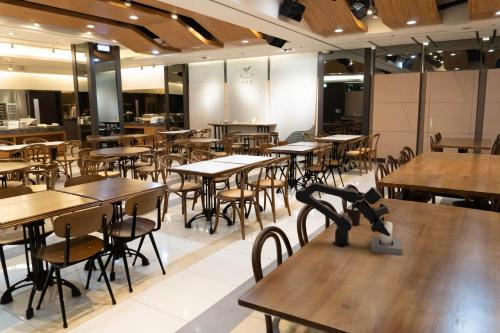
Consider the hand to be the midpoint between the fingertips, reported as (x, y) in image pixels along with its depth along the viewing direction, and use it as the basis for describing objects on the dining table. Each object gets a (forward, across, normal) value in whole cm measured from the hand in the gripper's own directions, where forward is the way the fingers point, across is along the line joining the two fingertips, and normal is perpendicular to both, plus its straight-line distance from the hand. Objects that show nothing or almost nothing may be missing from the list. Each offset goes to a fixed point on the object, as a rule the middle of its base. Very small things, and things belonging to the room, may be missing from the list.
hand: (389, 233), depth 182 cm
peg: (+4, 0, +6) cm, 7 cm away
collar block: (+4, 0, +6) cm, 8 cm away
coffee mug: (-7, +36, +18) cm, 41 cm away
